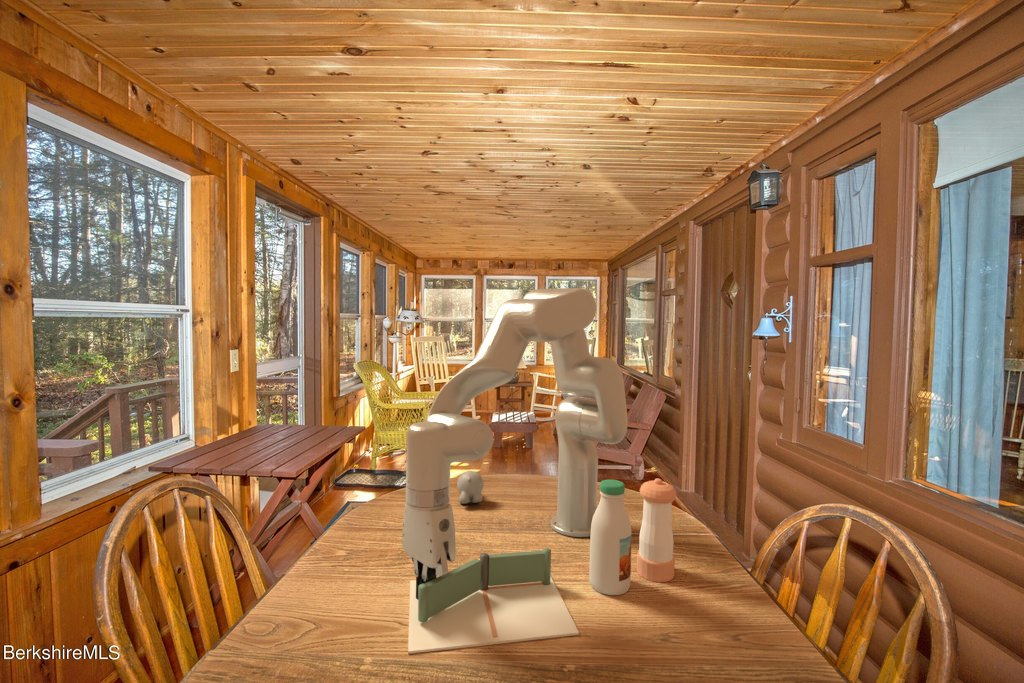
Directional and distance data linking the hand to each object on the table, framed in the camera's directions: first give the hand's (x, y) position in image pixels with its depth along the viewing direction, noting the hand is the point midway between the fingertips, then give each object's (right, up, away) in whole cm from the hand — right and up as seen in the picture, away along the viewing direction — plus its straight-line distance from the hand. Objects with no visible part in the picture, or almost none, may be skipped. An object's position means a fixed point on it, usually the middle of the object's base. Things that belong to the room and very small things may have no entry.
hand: (426, 597), depth 85 cm
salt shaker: (+44, -2, +13) cm, 46 cm away
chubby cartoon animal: (+3, 0, +50) cm, 50 cm away
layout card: (+11, -2, +1) cm, 11 cm away
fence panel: (+4, -1, 0) cm, 4 cm away
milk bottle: (+34, -2, +8) cm, 35 cm away
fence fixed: (+16, -2, +7) cm, 17 cm away
